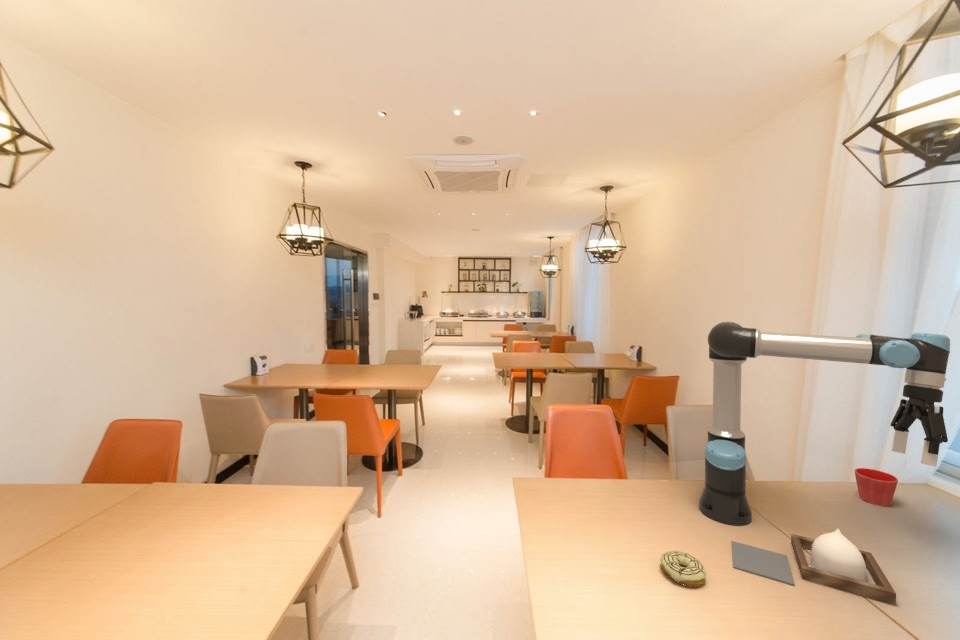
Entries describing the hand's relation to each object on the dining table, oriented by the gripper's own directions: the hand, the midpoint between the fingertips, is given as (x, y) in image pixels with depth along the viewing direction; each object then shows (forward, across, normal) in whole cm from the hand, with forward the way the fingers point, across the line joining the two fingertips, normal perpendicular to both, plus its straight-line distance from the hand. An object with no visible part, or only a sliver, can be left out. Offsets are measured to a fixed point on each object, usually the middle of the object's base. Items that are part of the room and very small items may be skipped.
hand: (912, 458), depth 110 cm
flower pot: (+22, +31, -7) cm, 38 cm away
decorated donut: (+38, -36, +58) cm, 78 cm away
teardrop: (+31, -19, +20) cm, 42 cm away
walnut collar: (+31, -19, +20) cm, 42 cm away
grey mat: (+34, -23, +38) cm, 56 cm away
